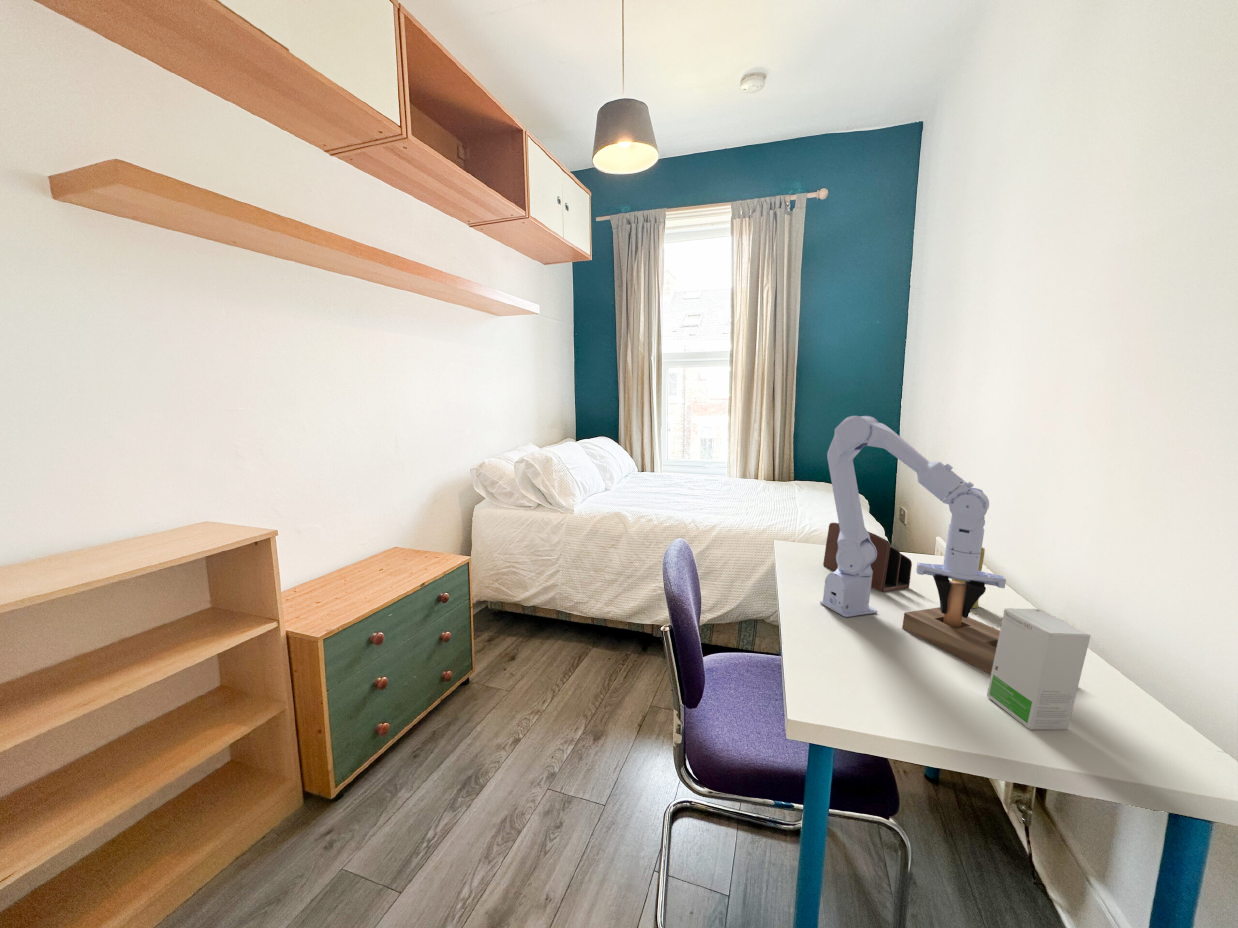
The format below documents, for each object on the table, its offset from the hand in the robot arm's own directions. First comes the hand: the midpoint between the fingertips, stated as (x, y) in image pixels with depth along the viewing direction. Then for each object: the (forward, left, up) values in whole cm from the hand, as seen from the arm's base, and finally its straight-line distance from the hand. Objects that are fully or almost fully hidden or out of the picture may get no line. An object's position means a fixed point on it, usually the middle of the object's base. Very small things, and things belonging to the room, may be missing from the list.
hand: (953, 613), depth 98 cm
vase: (+21, +12, -6) cm, 25 cm away
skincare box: (-12, -21, -6) cm, 25 cm away
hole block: (0, -5, -5) cm, 7 cm away
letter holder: (+11, +32, -6) cm, 35 cm away
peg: (0, 0, -3) cm, 3 cm away
